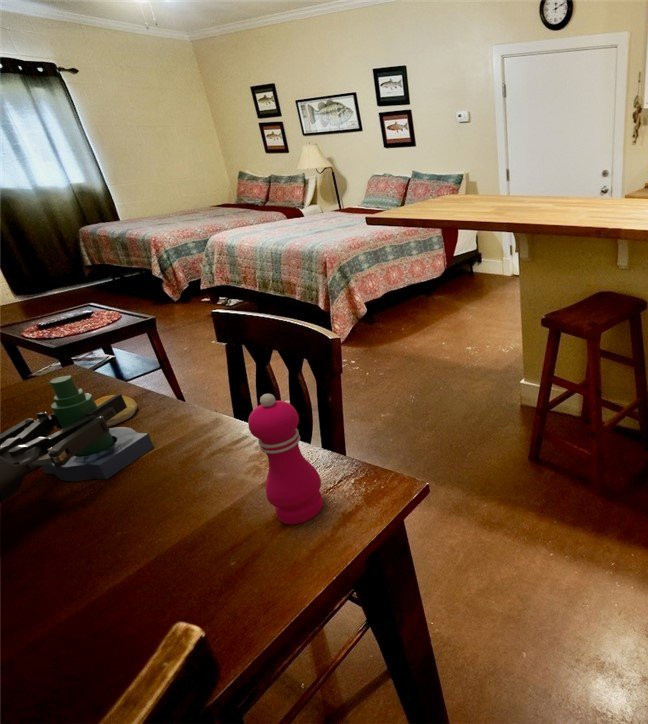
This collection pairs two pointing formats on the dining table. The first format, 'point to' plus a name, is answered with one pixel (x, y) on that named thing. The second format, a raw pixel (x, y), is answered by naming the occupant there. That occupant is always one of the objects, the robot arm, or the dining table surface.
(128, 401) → the bread roll
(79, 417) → the bottle
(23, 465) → the robot arm
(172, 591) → the dining table surface
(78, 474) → the hole board
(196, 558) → the dining table surface
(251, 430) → the pepper mill
